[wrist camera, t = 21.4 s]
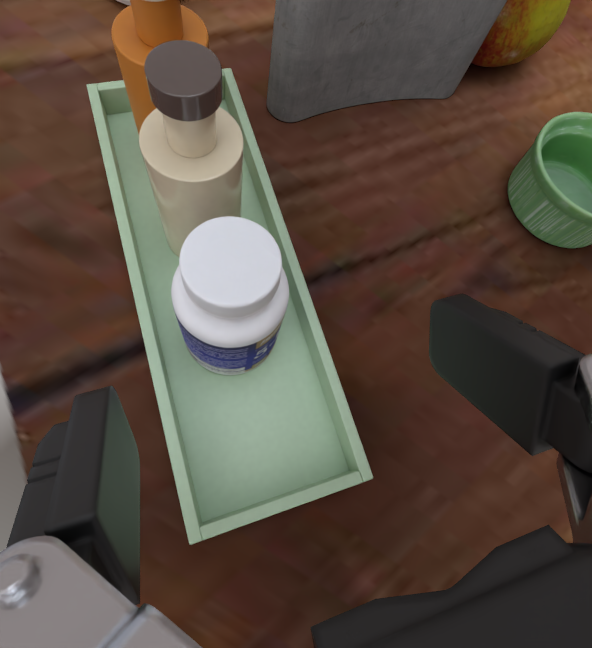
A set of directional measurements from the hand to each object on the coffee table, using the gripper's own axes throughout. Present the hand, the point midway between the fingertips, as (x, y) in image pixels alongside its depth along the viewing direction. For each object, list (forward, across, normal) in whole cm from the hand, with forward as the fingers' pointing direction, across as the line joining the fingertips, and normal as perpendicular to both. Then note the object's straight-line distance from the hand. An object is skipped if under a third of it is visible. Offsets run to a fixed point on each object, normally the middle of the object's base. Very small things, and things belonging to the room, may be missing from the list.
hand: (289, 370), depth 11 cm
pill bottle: (+14, 0, +6) cm, 15 cm away
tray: (+17, 0, +4) cm, 17 cm away
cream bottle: (+18, 0, +1) cm, 18 cm away
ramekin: (+17, -26, +4) cm, 31 cm away
